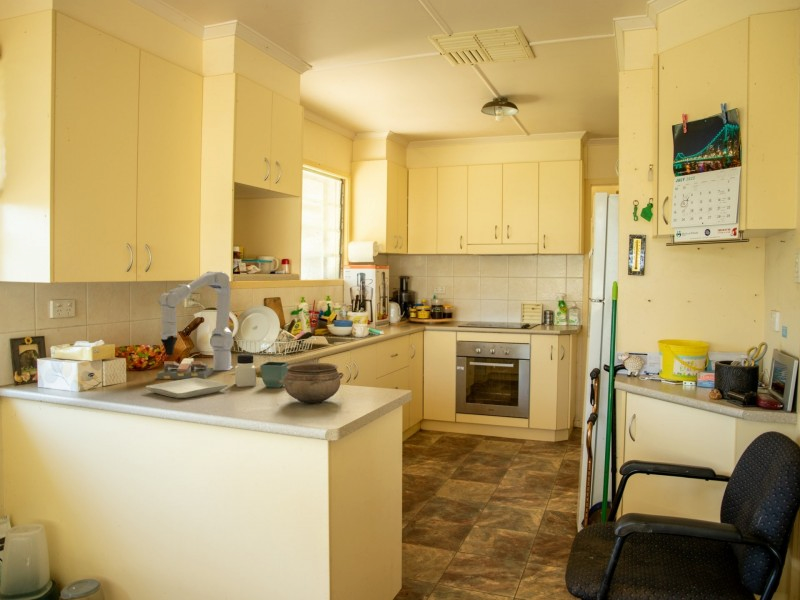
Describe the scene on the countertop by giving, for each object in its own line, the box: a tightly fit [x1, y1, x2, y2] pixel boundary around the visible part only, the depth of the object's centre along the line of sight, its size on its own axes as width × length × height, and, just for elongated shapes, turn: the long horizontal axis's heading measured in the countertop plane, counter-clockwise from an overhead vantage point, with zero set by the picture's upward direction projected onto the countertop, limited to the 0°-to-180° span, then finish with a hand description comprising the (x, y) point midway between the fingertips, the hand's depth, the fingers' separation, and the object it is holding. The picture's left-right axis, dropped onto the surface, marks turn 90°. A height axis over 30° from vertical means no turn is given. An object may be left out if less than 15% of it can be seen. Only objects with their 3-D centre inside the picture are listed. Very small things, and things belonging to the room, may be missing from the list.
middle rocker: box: [177, 357, 195, 372], centre depth 263 cm, size 10×4×1 cm, turn 3°
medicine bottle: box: [234, 353, 257, 388], centre depth 243 cm, size 7×7×12 cm
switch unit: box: [156, 364, 214, 380], centre depth 263 cm, size 14×19×5 cm
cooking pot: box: [279, 362, 344, 405], centre depth 212 cm, size 25×19×12 cm
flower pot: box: [259, 361, 290, 389], centre depth 240 cm, size 9×9×9 cm
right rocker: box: [191, 360, 207, 368], centre depth 263 cm, size 10×4×1 cm, turn 3°
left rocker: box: [163, 360, 181, 368], centre depth 263 cm, size 10×4×1 cm, turn 3°
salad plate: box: [145, 378, 228, 399], centre depth 228 cm, size 21×21×3 cm
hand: (169, 355), depth 259 cm, fingers closed
